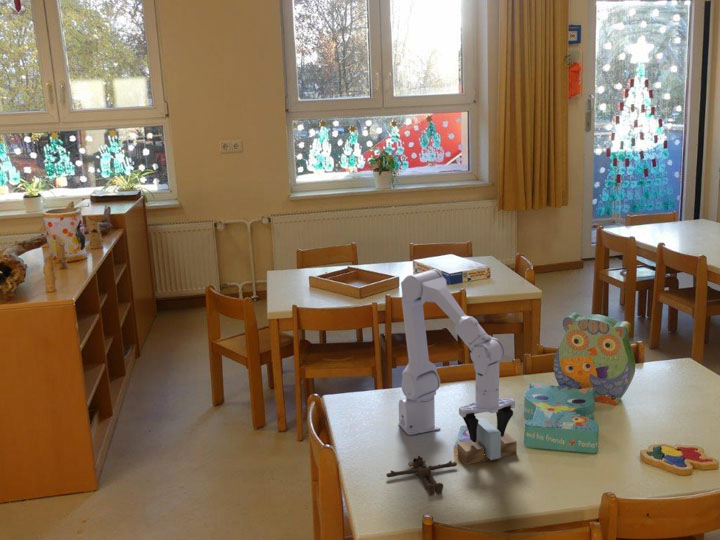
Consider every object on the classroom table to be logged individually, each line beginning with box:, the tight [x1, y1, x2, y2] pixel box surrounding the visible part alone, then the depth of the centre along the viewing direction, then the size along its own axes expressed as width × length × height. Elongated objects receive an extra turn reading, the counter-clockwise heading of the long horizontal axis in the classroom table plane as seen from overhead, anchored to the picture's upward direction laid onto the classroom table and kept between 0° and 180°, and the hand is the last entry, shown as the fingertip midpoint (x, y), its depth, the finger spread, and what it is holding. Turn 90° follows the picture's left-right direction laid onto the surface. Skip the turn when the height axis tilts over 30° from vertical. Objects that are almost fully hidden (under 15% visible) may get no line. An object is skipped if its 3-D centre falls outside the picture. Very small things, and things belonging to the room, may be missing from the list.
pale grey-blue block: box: [476, 417, 502, 461], centre depth 190 cm, size 3×9×7 cm, turn 18°
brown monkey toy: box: [385, 455, 458, 496], centre depth 180 cm, size 18×4×14 cm
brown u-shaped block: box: [456, 432, 518, 465], centre depth 191 cm, size 14×5×4 cm, turn 108°
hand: (486, 437), depth 190 cm, fingers open, 7 cm apart
